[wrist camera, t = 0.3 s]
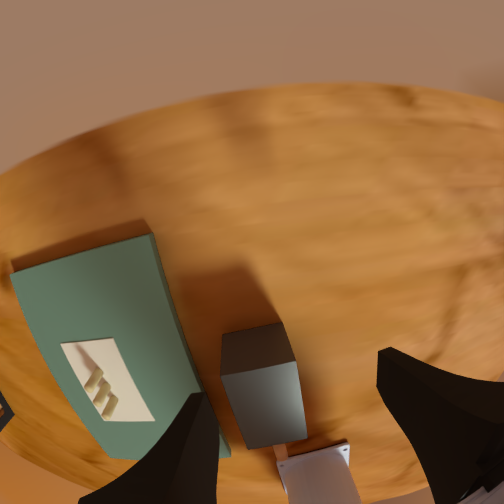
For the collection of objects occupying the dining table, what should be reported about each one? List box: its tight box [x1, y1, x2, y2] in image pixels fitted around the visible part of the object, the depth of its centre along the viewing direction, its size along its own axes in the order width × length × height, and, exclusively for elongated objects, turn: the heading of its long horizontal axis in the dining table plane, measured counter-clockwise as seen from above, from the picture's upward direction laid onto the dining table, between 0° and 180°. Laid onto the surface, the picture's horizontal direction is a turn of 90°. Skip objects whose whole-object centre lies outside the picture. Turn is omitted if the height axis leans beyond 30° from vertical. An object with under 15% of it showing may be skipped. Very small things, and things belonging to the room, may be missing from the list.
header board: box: [10, 233, 231, 460], centre depth 19 cm, size 22×14×4 cm, turn 11°
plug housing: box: [220, 322, 308, 462], centre depth 19 cm, size 11×4×5 cm, turn 11°
